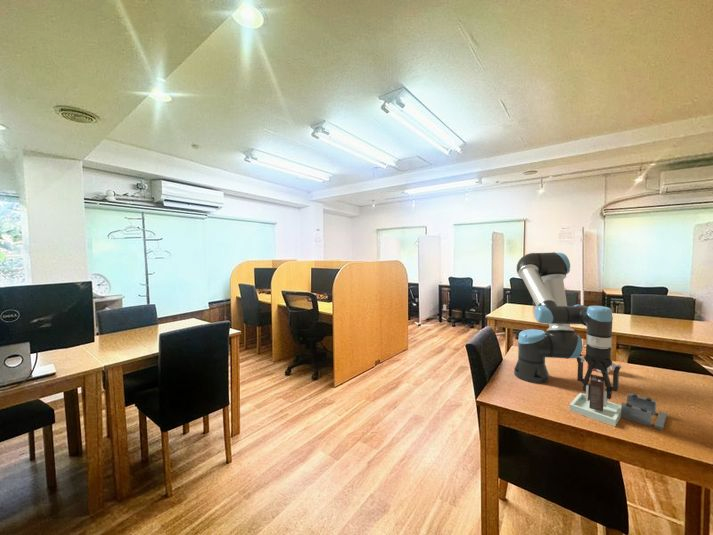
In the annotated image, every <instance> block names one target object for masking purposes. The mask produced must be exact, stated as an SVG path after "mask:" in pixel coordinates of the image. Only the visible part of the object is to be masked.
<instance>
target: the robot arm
mask: <svg viewBox="0 0 713 535" xmlns="http://www.w3.org/2000/svg"><path fill="white" fill-rule="evenodd" d="M570 271H571V262H570V259H569V257H568V256H567V255H566V253H562V252H555V251H553V252H531V253H530V252H529V253H527V254H525V255H524V256H522V257H521V258H520V259H519V260H518V262H517V264H516V273H517V276H518V277H519V279H522V280H523V283H524V284H525V286H526V288H527V290H528V292H529V294H530V297H531V298H532V300H533V302H534V304H535V308H534V311H533V313H534V318H535V320H536V322H537V323H539V324H546V325H547V324H548V326H549V327H548V328H547V329H546V332H545V331H544V330H542V329H535V328H533V329H531V328H530V329H524V330H521V331H520V332H519V333H518V339H517V343H518V344H517V345H518V348H517V349H518V350H517V352H518V354H517V355H518V357H517V361H516V362H515V363H516V364H515V366H514V368H513V371H514V372H513V374H514V376H515V377H517V378H518V379H520V380H522V381H525V382H529V383H535V384H543V383H547V382H548V381H550V380H549V379H550V374H549V371H548V369H547V366H546V358H547V359H549V358H552V359H567V360H568V359H575V360H576V362H577V376H576V378H577V379H576V380H577V381H578V382H580V383H582V391H583V393H585V394H586V401H589V400H590V377H591V374H592V373H593V371H594V370H593V369H598V370H601V372H600V373H601V376H602V377H603V379H604V403H603V407H607V405H608V401H609V400H611V398H612V392H617V391H618V390H619V383H620V381H619V379H620V374H619V373H620V370H621V368H622V366H621V365H620V364H615V363H613V360H612V348H611V347H612V341H613V340H612V338H613V337H612V335H613V334H612V332H613V319H614V316H613V310H612V309H611V308H610V307H607V306H603V305H589V306H586V305H584V304H583V305H582V304H574V305H572V306H571V305H570V306H569V305H568V303H567V297H566V296H567V295H566V290H565V288H566V287H565V284H564V283H565V282H564V280H565V279H566V278H567V275H568V274H569V273H570ZM571 325H583V326H585V327H586V336H585V337H586V338H585V339H586V341H585V342H586V345H585V355H584V356H581V354H582V352H583V344H584V343H583V340H582V338H581V336H580V335H579V334H576V331H575V329H574V328H573V327H571ZM584 362H586V363H587V365H588V364H589V367H588V369H587V371H586V373H585V375H584ZM609 366H610V367H611V370H613V372H612V383H611V379H610V377H609V373H608V370H607V368H608V367H609Z"/></svg>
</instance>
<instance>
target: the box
mask: <svg viewBox="0 0 713 535" xmlns="http://www.w3.org/2000/svg"><path fill="white" fill-rule="evenodd" d="M589 384H590V406H589V408H591V409H594V410H598V411H602V412H603V400H604V390H605V382H604V379H603V375H597V374H592V373H591V376H590V378H589Z"/></svg>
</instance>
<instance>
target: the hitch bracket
mask: <svg viewBox="0 0 713 535" xmlns="http://www.w3.org/2000/svg"><path fill="white" fill-rule="evenodd" d="M620 405H621V418H623V419H626V420H629V421H633V422H635V423H639V424H641V425H643V426H644V425H645V426H647V427H651V426H652V418H653V417H652V416H655V415H656V414H657V413H656V411H657V410H656V409H657V400H655V399H652V398H651V397H643V396H640V395H638V394H637V393H634V392H633V393H630V392H628V393H627V396H626V402H622V403H621V404H620ZM667 417H668V413H665V412H663V411H660V410H659V411H658V414H657V417H656V420H655V422H654V429H655V430H659V431H663V430H664V426H665V424H666V420H667Z"/></svg>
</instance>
